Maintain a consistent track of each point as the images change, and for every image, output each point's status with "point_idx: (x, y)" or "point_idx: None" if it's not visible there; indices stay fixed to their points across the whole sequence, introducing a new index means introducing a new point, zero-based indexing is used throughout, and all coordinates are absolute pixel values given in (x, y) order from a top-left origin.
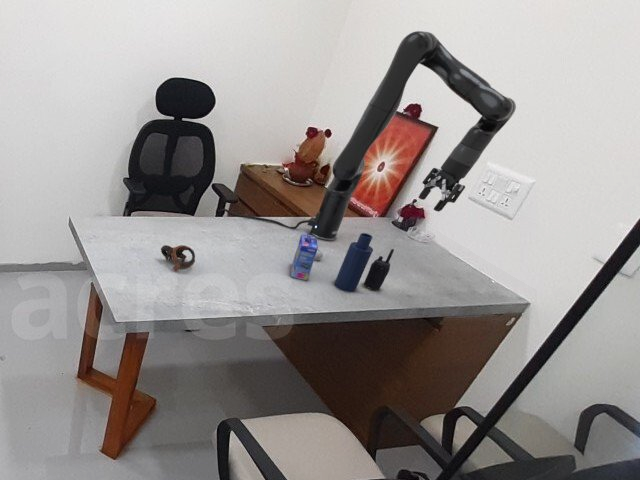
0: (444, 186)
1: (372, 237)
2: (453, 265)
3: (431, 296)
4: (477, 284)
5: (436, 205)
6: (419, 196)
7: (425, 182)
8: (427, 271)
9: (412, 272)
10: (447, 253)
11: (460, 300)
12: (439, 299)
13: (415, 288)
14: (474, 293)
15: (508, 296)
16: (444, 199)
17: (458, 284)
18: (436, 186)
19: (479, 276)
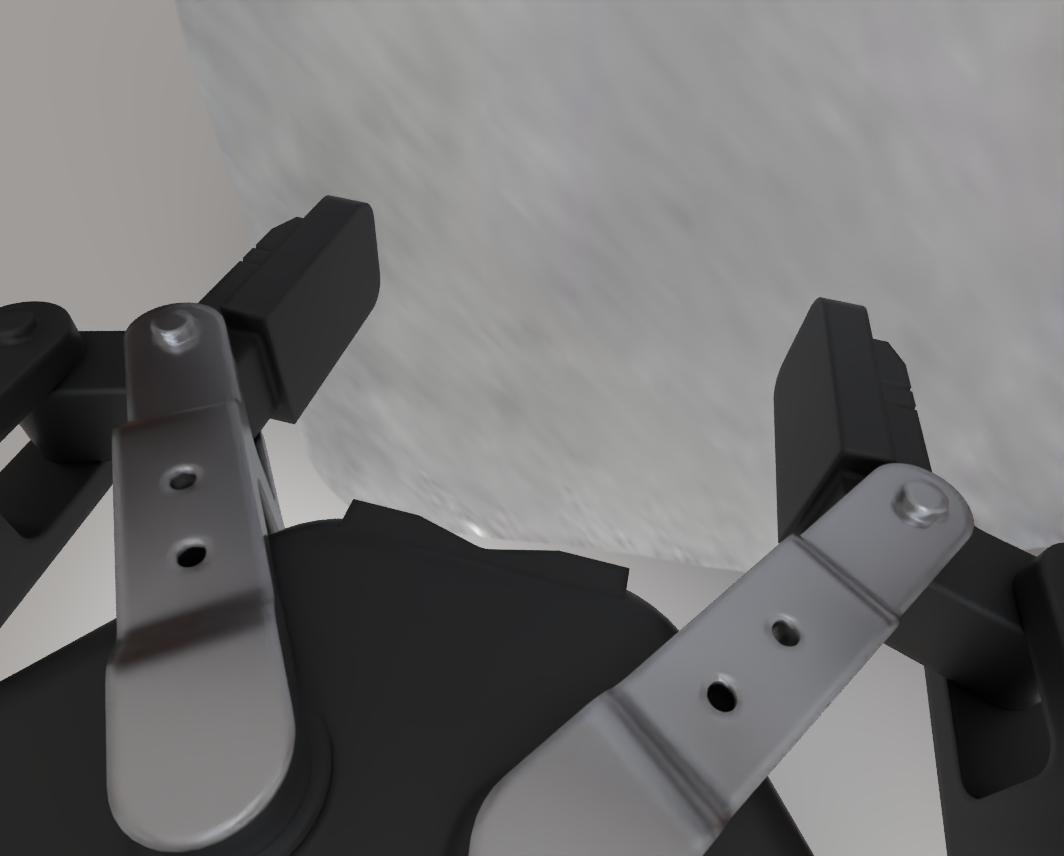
0: (155, 560)
1: None
2: (629, 491)
3: (288, 55)
4: (449, 448)
5: (319, 237)
6: (853, 312)
7: (1040, 591)
8: (586, 299)
9: (584, 183)
10: (742, 559)
11: (276, 223)
12: (261, 86)
13: (378, 12)
14: (362, 363)
15: (356, 487)
16: (135, 326)
17: (445, 357)
18: (568, 553)
19: (520, 515)
